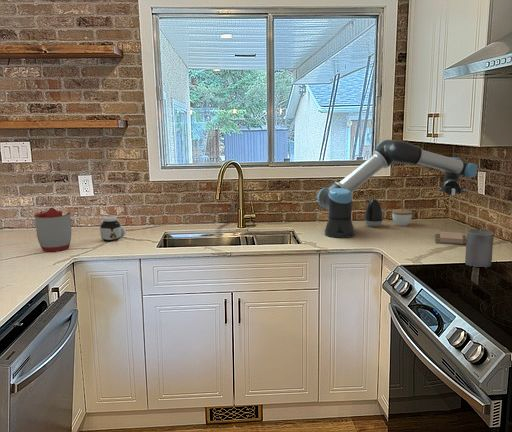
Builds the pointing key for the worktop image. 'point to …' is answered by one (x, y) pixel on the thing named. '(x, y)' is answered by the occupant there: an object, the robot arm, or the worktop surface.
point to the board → (437, 239)
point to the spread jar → (111, 229)
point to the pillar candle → (479, 248)
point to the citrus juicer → (53, 230)
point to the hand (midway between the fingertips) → (453, 192)
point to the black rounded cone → (373, 213)
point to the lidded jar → (401, 217)
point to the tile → (451, 237)
